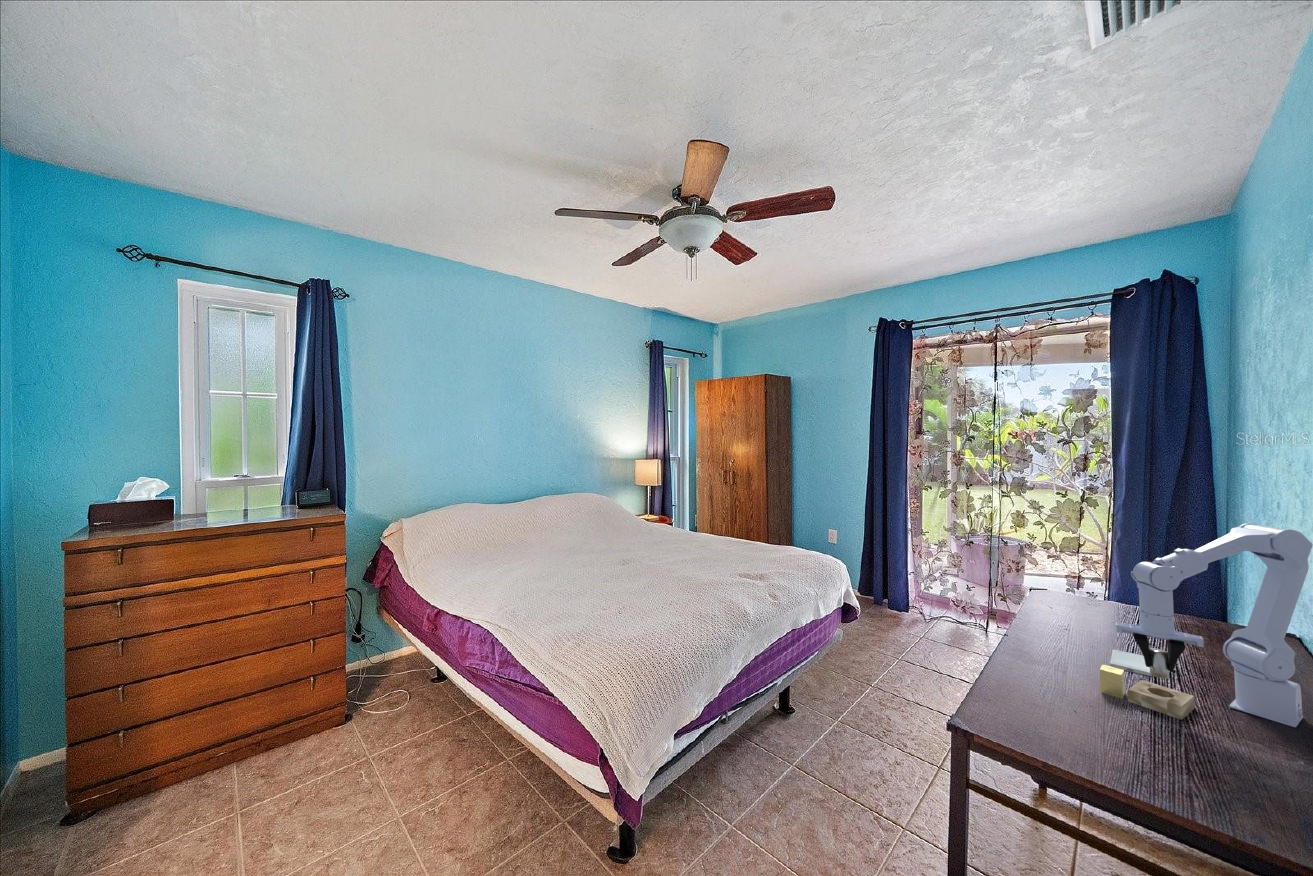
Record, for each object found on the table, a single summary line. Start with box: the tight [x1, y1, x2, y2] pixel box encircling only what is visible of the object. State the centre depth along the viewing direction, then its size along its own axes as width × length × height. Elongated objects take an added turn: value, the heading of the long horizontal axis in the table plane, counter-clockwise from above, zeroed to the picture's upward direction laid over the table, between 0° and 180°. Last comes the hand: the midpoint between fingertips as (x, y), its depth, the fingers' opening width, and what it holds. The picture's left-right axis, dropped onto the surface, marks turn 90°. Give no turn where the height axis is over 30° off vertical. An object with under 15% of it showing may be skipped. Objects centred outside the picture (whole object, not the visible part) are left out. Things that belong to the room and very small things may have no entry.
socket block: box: [1127, 679, 1195, 721], centre depth 113 cm, size 9×9×3 cm
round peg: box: [1149, 647, 1170, 680], centre depth 113 cm, size 3×3×6 cm
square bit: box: [1099, 664, 1126, 700], centre depth 119 cm, size 4×4×6 cm
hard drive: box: [1109, 649, 1153, 677], centre depth 133 cm, size 2×8×12 cm
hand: (1159, 668), depth 113 cm, fingers closed on round peg, 3 cm apart
